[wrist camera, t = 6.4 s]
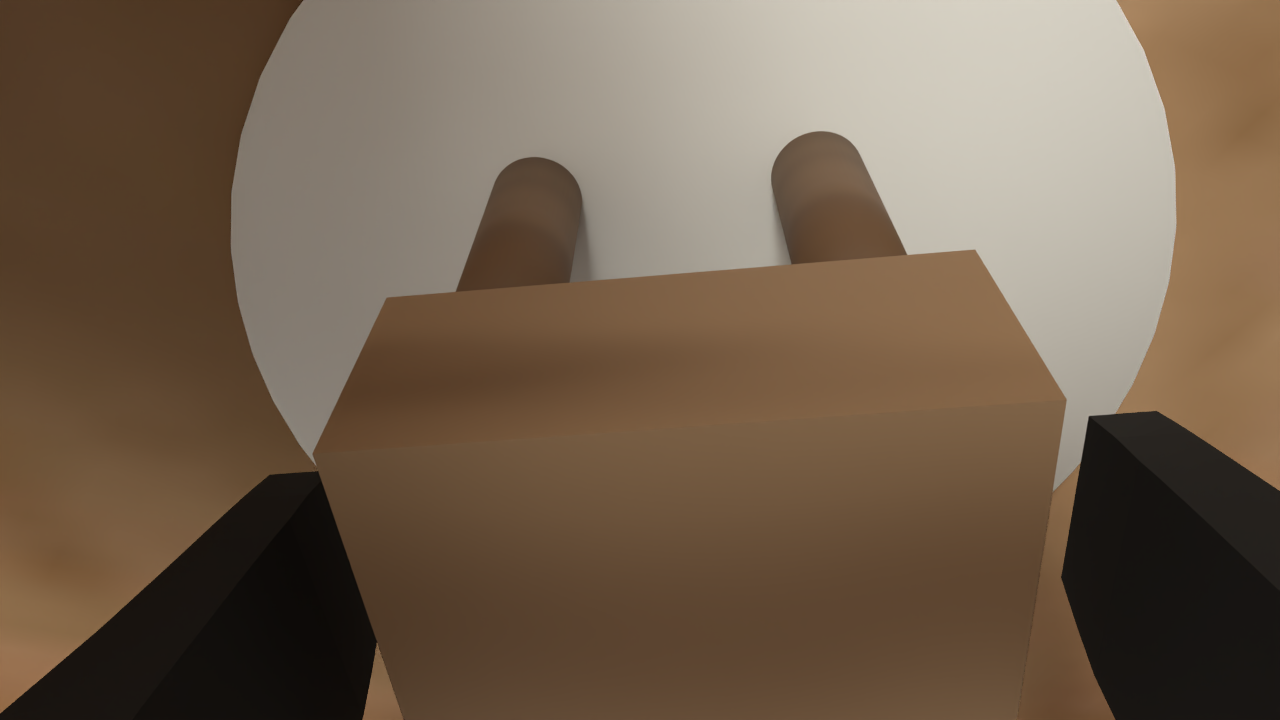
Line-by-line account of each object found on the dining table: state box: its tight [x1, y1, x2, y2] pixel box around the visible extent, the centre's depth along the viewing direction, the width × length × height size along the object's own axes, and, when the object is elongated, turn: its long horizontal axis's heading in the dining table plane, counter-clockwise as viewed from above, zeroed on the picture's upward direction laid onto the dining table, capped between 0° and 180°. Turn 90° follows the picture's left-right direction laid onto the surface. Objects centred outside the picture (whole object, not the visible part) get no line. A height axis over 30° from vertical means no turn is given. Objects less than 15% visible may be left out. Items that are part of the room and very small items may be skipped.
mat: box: [231, 0, 1176, 491], centre depth 13 cm, size 12×12×1 cm
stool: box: [312, 131, 1067, 720], centre depth 10 cm, size 5×5×6 cm
